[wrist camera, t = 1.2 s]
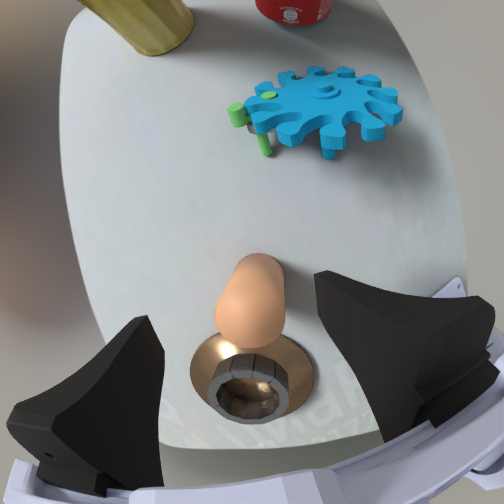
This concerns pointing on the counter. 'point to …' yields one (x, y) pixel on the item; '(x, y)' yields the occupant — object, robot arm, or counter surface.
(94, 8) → the vase
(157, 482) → the robot arm
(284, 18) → the beverage can
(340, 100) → the gear
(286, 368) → the ring collar
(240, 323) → the peg
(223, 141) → the counter surface
